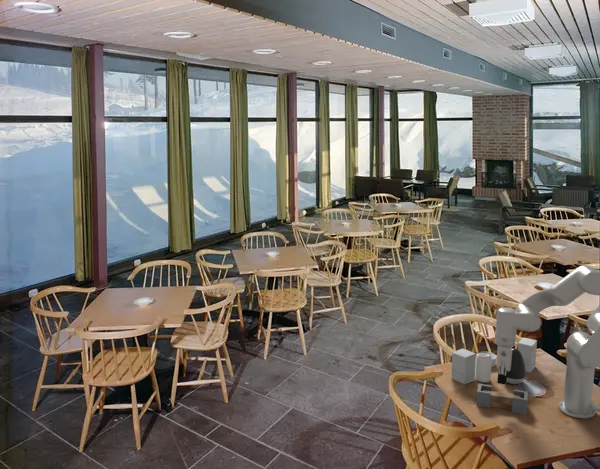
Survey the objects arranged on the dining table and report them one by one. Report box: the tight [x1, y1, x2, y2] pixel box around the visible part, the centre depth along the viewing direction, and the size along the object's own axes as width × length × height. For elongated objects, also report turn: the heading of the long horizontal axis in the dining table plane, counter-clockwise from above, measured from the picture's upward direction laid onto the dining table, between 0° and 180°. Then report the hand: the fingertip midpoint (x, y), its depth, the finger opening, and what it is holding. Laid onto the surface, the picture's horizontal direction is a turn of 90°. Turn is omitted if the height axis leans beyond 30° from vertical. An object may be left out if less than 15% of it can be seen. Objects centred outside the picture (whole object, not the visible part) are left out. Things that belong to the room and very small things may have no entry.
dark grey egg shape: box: [506, 347, 527, 385], centre depth 227 cm, size 10×10×15 cm
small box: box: [517, 337, 538, 374], centre depth 240 cm, size 8×6×13 cm
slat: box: [483, 390, 521, 410], centre depth 209 cm, size 14×4×5 cm, turn 71°
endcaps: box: [475, 383, 528, 415], centre depth 209 cm, size 18×7×6 cm, turn 66°
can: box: [475, 351, 492, 384], centre depth 230 cm, size 6×6×12 cm
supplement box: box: [450, 348, 477, 385], centre depth 230 cm, size 7×7×13 cm
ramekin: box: [487, 351, 497, 368], centre depth 246 cm, size 9×9×4 cm
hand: (501, 383), depth 208 cm, fingers closed
